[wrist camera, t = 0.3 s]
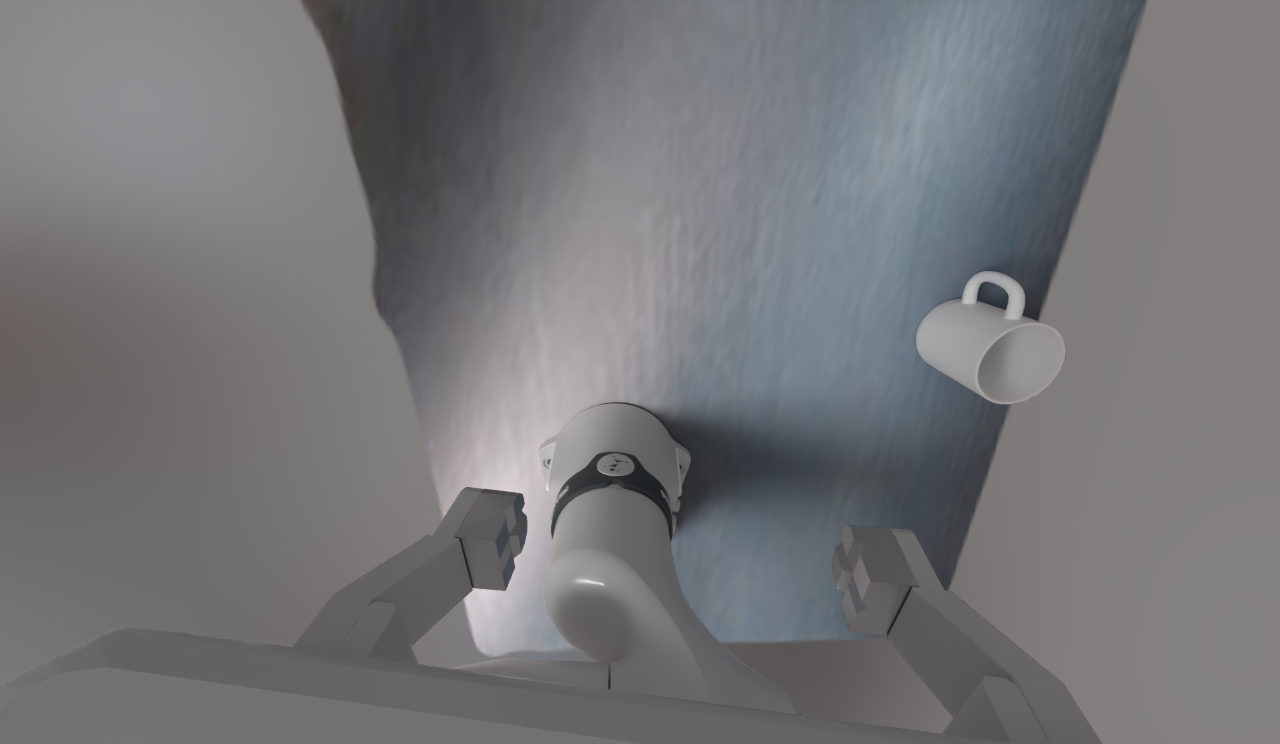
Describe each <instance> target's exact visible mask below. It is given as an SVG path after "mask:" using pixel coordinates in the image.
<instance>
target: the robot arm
mask: <svg viewBox="0 0 1280 744" xmlns="http://www.w3.org/2000/svg"><path fill="white" fill-rule="evenodd" d="M539 458H540V462H541V466H542V470H543V474H544V478H545V482H546V490H547V491H548V493H549V497H550V501H551V505H552V509H553V512H552V519H551V520H552V525H551V534H552V539H553V540H552V545H551V550H550V554H549V559H548V564H547V569H546V574H545V579H544V584H543V596H544V602H545V606H546V609H547V612H548V614H549V616H550V618H551V620H552V622H553V623H554V625H555V626H556V628H557V630H558V631H559V633H560V634H561V635H562V636H563V638H564V639H565V640H566V641H567V642H568V643H570V644H571V645H572V646H573V647H575V648H576V649H578V650H579V651H581V652H582V653H584V654H585V655H587V656H589V657H590V658H592V659H593V660H595V661H596V662H581V661H558V660H534V659H510V658H506V659H500V660H494V661H488V662H482V663H475V664H469V665H464V666H460V667H455V668H445V667H437V666H430V665H421V664H418V662H417V659H416V656H415V655H414V652H413V649H412V647H411V646H412V645H413V644H414V643H416V641H418V640H419V639H420V638H421V637H422V636H423V635H424V634H425V633H426V632H428V631H429V630H430V629H431V628H432V627H433V626H434V625H435V624H436V623H437V622H438V621H439V620H440V619H442V618H443V617H444V616H445V615H446V614H447V613H448V612H449V611H450V610H451V609H453V608H454V607H455V606H456V605H457V604H458V603H459V602H460V601H461V600H462V599H463V598H465V597H466V596H467V595H468V594H469V593H470V592H471V591H472V590H473V589H472V588H479V589H490V590H502V591H506V589H507V586H508V584H509V581H510V579H511V576H512V574H513V571H514V569H515V564H514V558H515V557H516V556H517V555H519V554H520V553H521V552H522V549H523V546H524V544H525V540H526V535H527V516H526V515H525V514H524V513H523V512H522V509H523V507H524V504H525V502H524V497H523V494H521V493H514V492H506V491H498V490H490V489H479V488H471V487H466V488H464V489H463V490H462V491H461V492H460V493H459V495H458V496H457V498H456V500H455V501H454V503H453V504H452V506H451V507H450V509H449V511H448V512H447V514H446V515H445V517H444V519H443V520H442V522H441V523H440V525H439V527H438V528H437V530H436V531H435V533H434V534H433V536H432V535H427V536H425V537H423V538H422V539H420V540H419V541H417V542H415V543H414V544H412V545H411V546H409V547H408V548H406V549H404V550H403V551H401V552H400V553H398V554H396V555H395V556H393V557H392V558H390V559H388V560H387V561H385V562H384V563H382V564H381V565H379V566H377V567H376V568H374V569H373V570H371V571H369V572H368V573H367V574H365V575H363V576H361V577H360V578H358V579H357V580H355V581H353V582H352V583H350V584H349V585H347V586H345V587H344V588H343V589H341V590H339V591H338V592H336V593H334V594H333V595H332V596H331V598H330V599H329V600H328V602H327V603H326V604H325V606H324V607H323V608H322V609H321V611H320V612H319V613H318V615H317V616H316V617H315V619H314V620H313V621H312V623H311V624H310V625H309V627H308V628H307V629H306V630H305V632H304V633H303V634H302V636H301V637H300V638H299V640H298V641H297V642H296V643H295V645H294V646H293V647H287V646H280V645H272V644H265V643H257V642H250V641H242V640H234V639H227V638H220V637H212V636H205V635H197V634H189V633H182V632H175V631H167V630H160V629H152V628H144V627H125V628H118V629H115V630H111V631H110V632H107V633H105V634H102V635H100V636H98V637H96V638H94V639H91V640H89V641H86V642H84V643H83V644H81V645H78V646H77V647H74V648H72V649H70V650H69V651H66V652H64V653H63V654H61V655H59V656H56V657H55V658H53V659H51V660H48V661H47V662H45V663H43V664H41V665H39V666H37V667H35V668H33V669H31V670H29V671H27V672H25V673H23V674H21V675H19V676H18V677H16V678H14V679H12V680H10V681H8V682H6V683H5V684H3V685H1V686H0V744H1102V743H1101V741H1100V739H1099V738H1098V736H1097V735H1096V733H1095V732H1094V730H1093V729H1092V727H1091V725H1090V724H1089V722H1088V721H1087V719H1086V718H1085V716H1084V714H1083V713H1082V711H1081V710H1080V708H1079V707H1078V705H1077V704H1076V702H1075V701H1074V699H1073V697H1072V696H1071V694H1070V693H1069V691H1068V690H1067V688H1066V686H1065V685H1064V684H1063V683H1062V682H1061V681H1060V680H1059V679H1057V678H1056V677H1055V676H1054V675H1052V674H1051V673H1050V672H1049V671H1048V670H1046V669H1045V668H1044V667H1043V666H1041V665H1040V664H1039V663H1038V662H1037V661H1035V660H1034V659H1033V658H1032V657H1030V656H1029V655H1028V654H1027V653H1026V652H1024V651H1023V650H1022V649H1021V648H1019V647H1018V646H1017V645H1016V644H1015V643H1014V642H1012V641H1011V640H1010V639H1009V638H1007V637H1006V636H1005V635H1004V634H1003V633H1001V632H1000V631H999V630H998V629H996V628H995V627H994V626H993V625H992V624H990V623H989V622H988V621H987V620H985V619H984V618H983V617H982V616H980V615H979V614H978V613H977V612H976V611H975V610H973V609H972V608H971V607H970V606H968V605H967V604H966V603H965V602H964V601H962V600H961V599H960V598H959V597H957V596H956V595H955V594H954V593H953V592H951V591H946V590H944V589H943V587H942V585H941V583H940V581H939V579H938V577H937V576H936V574H935V572H934V570H933V568H932V566H931V564H930V562H929V560H928V558H927V557H926V555H925V553H924V551H923V549H922V547H921V545H920V543H919V541H918V540H917V538H916V536H915V534H914V533H913V532H912V531H911V530H904V529H893V528H882V527H871V526H859V525H847V524H845V525H844V526H843V528H842V530H841V533H840V537H841V540H842V543H841V544H840V545H838V546H837V547H835V550H834V554H833V559H832V570H833V577H834V581H835V584H836V587H837V588H838V589H839V590H840V591H841V592H842V593H843V594H844V598H843V600H842V603H841V605H842V608H843V612H844V615H845V618H846V622H847V625H848V628H849V631H854V632H861V633H868V634H875V635H881V636H888V637H887V639H888V640H889V641H890V642H891V644H892V645H893V646H894V647H895V648H896V650H897V651H898V652H899V653H900V655H901V656H902V657H903V658H904V659H905V660H906V662H907V663H908V664H909V665H910V666H911V667H912V669H913V670H914V671H915V672H916V674H917V675H918V676H919V677H920V678H921V680H922V681H923V682H924V683H925V684H926V686H927V687H928V688H929V689H930V690H931V692H933V694H934V695H935V696H936V697H937V699H938V700H939V701H940V702H941V703H942V705H943V706H944V707H945V708H946V709H947V711H948V712H949V713H950V714H951V715H952V717H953V719H952V721H951V722H950V723H949V725H948V726H947V727H946V729H945V730H944V732H943V733H942V734H939V733H932V732H925V731H917V730H909V729H902V728H895V727H887V726H880V725H872V724H865V723H857V722H849V721H842V720H834V719H826V718H819V717H812V716H804V715H803V714H802V713H801V711H800V710H799V709H798V707H797V706H796V705H795V703H794V702H793V701H792V699H791V698H790V697H789V696H788V695H787V694H786V693H785V691H784V690H783V689H782V688H781V687H779V686H778V685H776V684H775V683H773V682H771V681H770V680H768V679H766V678H765V677H763V676H761V675H759V674H758V673H756V672H755V671H754V670H752V669H751V668H749V667H748V666H746V665H745V664H744V663H742V662H741V661H740V660H739V659H737V658H736V657H735V656H734V655H733V654H731V653H730V652H729V651H728V650H727V649H726V648H725V647H724V646H723V645H722V644H721V643H720V642H719V641H718V640H717V639H716V638H715V637H714V636H713V635H712V634H711V633H710V632H709V630H708V629H707V628H706V627H705V626H704V624H703V623H702V622H701V621H700V619H699V618H698V617H697V615H696V614H695V612H694V611H693V610H692V608H691V607H690V605H689V604H688V602H687V600H686V598H685V597H684V594H683V592H682V590H681V588H680V585H679V582H678V578H677V573H676V569H675V565H674V560H673V555H672V549H671V539H672V535H673V534H674V532H675V529H676V516H674V515H673V513H672V512H673V511H674V512H679V509H680V500H677V499H678V497H679V496H681V493H682V484H683V482H684V479H685V476H686V473H687V471H688V468H689V465H690V462H691V455H690V453H689V451H688V450H687V449H686V448H684V447H683V446H681V445H680V444H678V443H677V442H675V441H674V440H673V439H672V437H671V436H670V435H669V433H668V431H667V430H666V428H665V427H664V425H663V424H662V423H661V422H660V421H659V420H658V419H657V418H656V417H654V416H653V415H652V414H650V413H649V412H647V411H645V410H643V409H641V408H638V407H635V406H632V405H627V404H616V403H613V404H603V405H599V406H595V407H592V408H590V409H587V410H585V411H583V412H582V413H580V414H579V415H577V416H576V417H575V418H574V419H572V420H571V421H570V422H569V424H568V425H567V426H566V427H565V429H564V430H563V431H562V432H561V433H560V434H559V435H558V436H556V437H554V438H552V439H550V440H548V441H547V442H545V443H544V444H542V446H541V447H540V450H539ZM549 459H551V460H550V461H548V460H549ZM679 465H681V467H679Z"/></svg>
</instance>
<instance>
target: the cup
mask: <svg viewBox="0 0 1280 744" xmlns="http://www.w3.org/2000/svg"><path fill="white" fill-rule="evenodd" d="M983 282H992V283H995V284H997V285H999V286H1001V287H1002V288H1003V289H1005V290H1006V292H1007V293H1008V296H1009V301H1008V305H1007V308H1006V310H1003V309H1000V308H998V307H995V306H992V305H989V304H986V303H983V302H980V301H977V294H978V290H979V287H980V285H981V284H982V283H983ZM1024 306H1025V293H1024V290H1023V288H1022V287H1021V285H1020V284H1019V283H1018V282H1017V281H1015V280H1014V279H1012V278H1011V277H1009V276H1007V275H1005V274H1002V273H999V272H995V271H983V272H979V273H977V274H975V275H974V276H973V277H972V278H970V280H969V281H968V282H967V284H966V286H965V289H964V292H963V296H962V298H960V299H953V300H949V301H946V302H944V303H942V304H940V305H938V306H937V307H935V308H934V309H932V310H931V311H930V312H929V313H928V314H927V315H926V316H925V317H924V319H923V320H922V322H921V324H920V326H919V328H918V331H917V335H916V347H917V350H918V352H919V354H920V356H921V357H922V359H923V360H924V361H925V362H927V363H928V364H929V365H931V366H932V367H934V368H936V369H937V370H939V371H941V372H942V373H944V374H946V375H947V376H949V377H951V378H952V379H954V380H956V381H957V382H959V383H961V384H962V385H964V386H966V387H967V388H969V389H971V390H972V391H974V392H976V393H977V394H979V395H980V396H982V397H984V398H985V399H987V400H989V401H991V402H994V403H998V404H1015V403H1019V402H1023V401H1025V400H1028V399H1030V398H1032V397H1034V396H1036V395H1037V394H1039V393H1040V392H1042V391H1043V390H1044V389H1046V388H1047V387H1048V386H1049V385H1050V384H1051V383H1052V382H1053V381H1054V379H1055V378H1056V377H1057V375H1058V374H1059V372H1060V370H1061V368H1062V366H1063V364H1064V360H1065V355H1066V346H1065V341H1064V339H1063V337H1062V335H1061V334H1060V333H1059V331H1057V330H1056V329H1055V328H1054V327H1052V326H1050V325H1047V324H1045V323H1042V322H1039V321H1036V320H1033V319H1030V318H1027V317H1024V316H1022V314H1023V311H1024Z"/></svg>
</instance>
